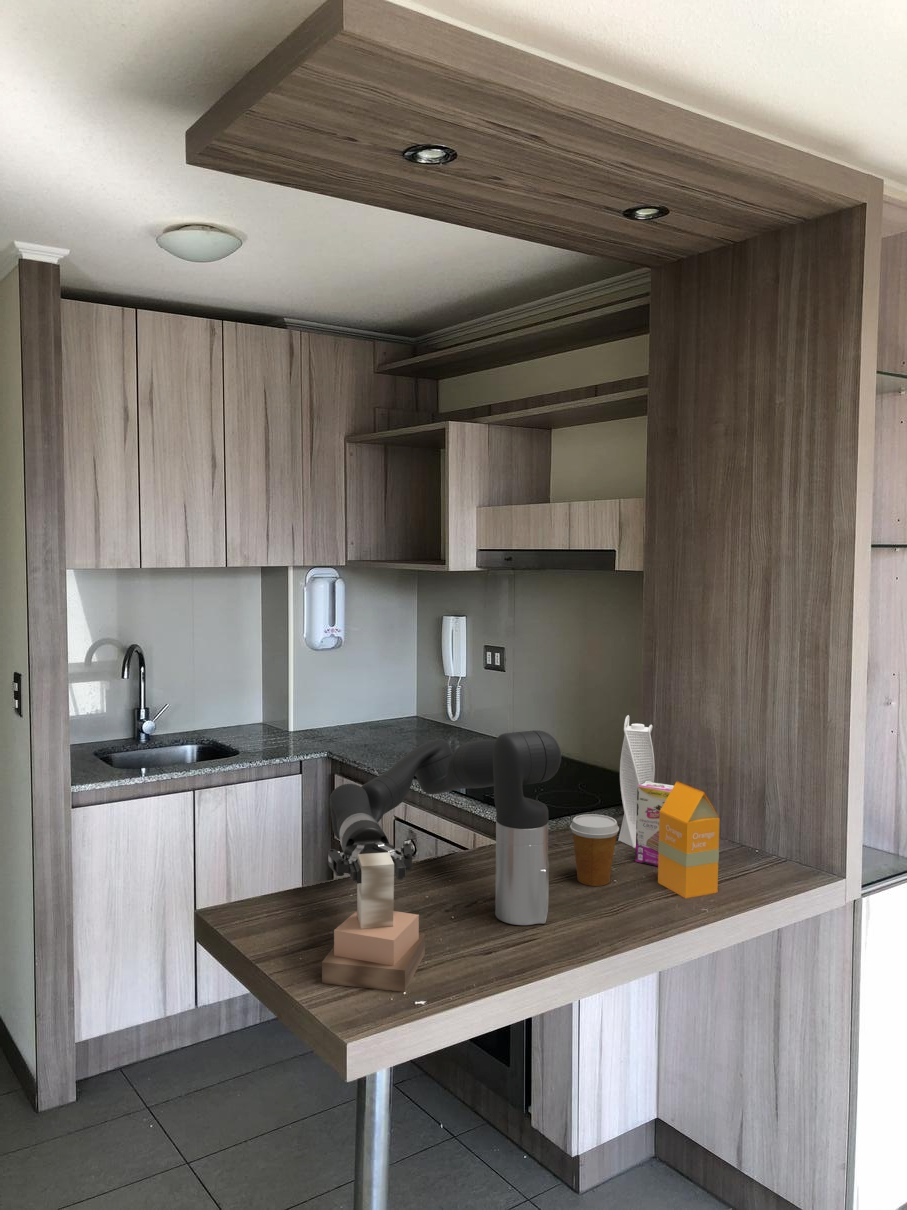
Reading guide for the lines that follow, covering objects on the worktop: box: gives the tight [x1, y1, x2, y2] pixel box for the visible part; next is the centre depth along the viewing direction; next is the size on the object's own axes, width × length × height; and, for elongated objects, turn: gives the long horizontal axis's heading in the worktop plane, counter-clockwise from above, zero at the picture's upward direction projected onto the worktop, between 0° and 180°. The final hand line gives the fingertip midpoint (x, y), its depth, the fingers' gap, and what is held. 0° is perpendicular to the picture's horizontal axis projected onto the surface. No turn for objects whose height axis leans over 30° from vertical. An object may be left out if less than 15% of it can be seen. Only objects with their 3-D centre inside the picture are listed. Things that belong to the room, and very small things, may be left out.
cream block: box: [356, 852, 395, 929], centre depth 148 cm, size 5×5×10 cm
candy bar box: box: [634, 781, 674, 867], centre depth 195 cm, size 11×5×16 cm, turn 58°
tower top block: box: [333, 910, 420, 966], centre depth 149 cm, size 10×10×4 cm
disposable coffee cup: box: [569, 813, 620, 887], centre depth 186 cm, size 10×10×12 cm
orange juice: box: [657, 780, 721, 899], centre depth 183 cm, size 8×9×20 cm
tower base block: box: [321, 933, 426, 992], centre depth 149 cm, size 13×13×4 cm
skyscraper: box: [617, 714, 656, 849], centre depth 209 cm, size 8×8×28 cm
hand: (379, 875), depth 146 cm, fingers open, 6 cm apart
